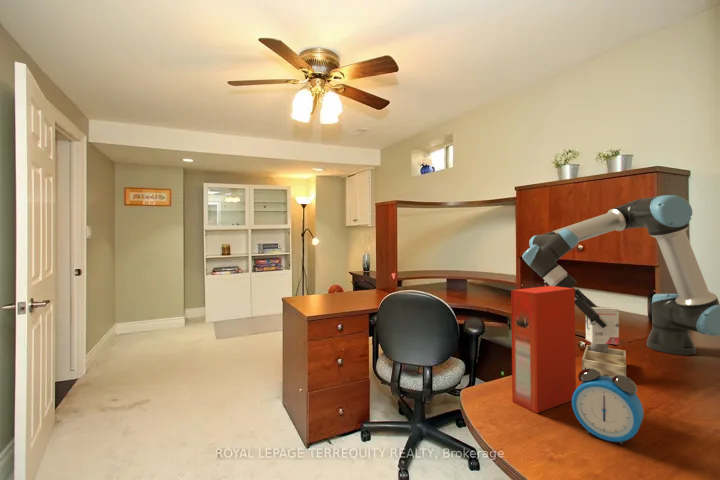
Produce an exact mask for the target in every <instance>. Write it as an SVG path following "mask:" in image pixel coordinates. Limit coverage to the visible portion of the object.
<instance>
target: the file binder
mask: <svg viewBox="0 0 720 480" xmlns="http://www.w3.org/2000/svg"><path fill="white" fill-rule="evenodd" d="M574 288H575V287H574ZM574 288H565V287H557V286H550V285H546V286H538V287H529V288H528V287H527V288H521V289H520V288H519V289H511V290H510V293H511V294H510V295H511V296H510V297H511V301H510V302H511V303H510V305H511V309H510V311H511V377H512V380H511V381H512V383H511V385H512V386H511V390H512V392H511V393H512V398H511V399H512V403H514V404H516V405H518V406H520V407H521V408H524V409H526V410H528V411H530V412H533V413H535V414H539V413H541V412H544V411H547V410H549V409H553V408H554V407H557V406H559V405H563V404H565V403H568V402H572V397H573V394H574V392H575V390H576V389H577V385H576V384H577V380H576V379H577V377H576V376H577V375H576V373H577V372H576V370H577V369H576V362H577V361H576V360H577V359H576V305H575V289H576V288H575V289H574Z"/></svg>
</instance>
